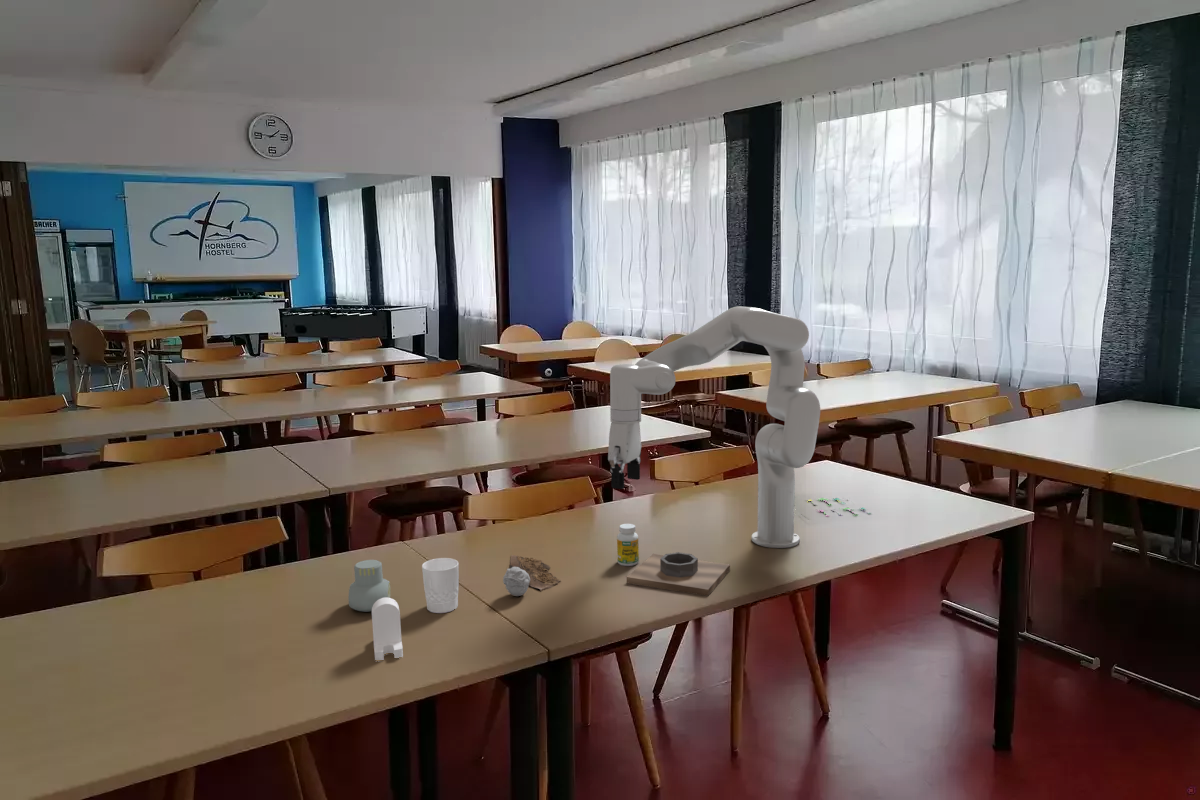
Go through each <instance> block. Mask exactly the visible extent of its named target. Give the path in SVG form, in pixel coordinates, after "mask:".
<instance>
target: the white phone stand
mask: <svg viewBox="0 0 1200 800" xmlns="http://www.w3.org/2000/svg"><path fill="white" fill-rule="evenodd" d="M371 621H372V639H373V649H374V652H373V653H374V661H375V660H384V661H385V655H384V654H386V653H393V654H394V655H393V654H392V655H393V657H394V658H399V657H402V658H404V651H403V642H402V627H401V624H402V623H401V612H400V607H399V603H398V602H397V600H395V599H394V598H391V597H390V598H388V597H384V598H381V599H379V600H377V601H376V602H375V603H374V605H373V607H372V611H371ZM386 655H387V654H386ZM399 659H400V658H399Z"/></svg>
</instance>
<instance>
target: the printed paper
mask: <svg viewBox="0 0 1200 800" xmlns="http://www.w3.org/2000/svg"><path fill="white" fill-rule="evenodd" d="M818 499H819V500H818V501H820V500H821V501H820V502H824V501H825V502H824V503H826V502H827V503H828V504H829V505H828V504H827V503H826V504H827V505H828V506H830V505H832V506H833V504H832V503H829V502H828V501H829V499H828V498H824V497H820V498H818ZM831 499H832V500H833V501H836V500H837V501H838V503H840V502H841V503H840V504H845V502H842V499H843V498H842V499H840V498H838V497H836V498H835V499H834V498H831ZM831 499H830V500H831ZM822 500H823V501H822ZM840 500H841V501H840ZM808 501H813V500H812V499H808ZM837 501H836V502H837ZM850 508H851V507H844V508H840V507H839V508H838V509H839V510H840V509H841V510H842V511H844V512H846V509H850ZM860 508H861V509H865V507H860ZM815 510H816V511H817V509H815ZM819 510H820V511H821V512H823V511H824V510H823V509H819ZM819 510H818V513H821V512H820V511H819ZM849 511H852V510H849ZM849 511H848V512H849ZM852 513H855V512H854V511H852ZM825 514H826V515H825ZM839 514H840V515H841V516H842V514H841V513H839ZM855 514H856V515H857V514H858V513H855ZM823 515H825V517H829V515H827V513H826V511H824V513H823ZM856 515H855V516H856ZM857 516H858V515H857Z"/></svg>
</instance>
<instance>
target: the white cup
mask: <svg viewBox="0 0 1200 800" xmlns="http://www.w3.org/2000/svg"><path fill="white" fill-rule="evenodd" d="M459 569H460V568H459V561H458V560H456V559H455V558H450V557H438V558H433V559H429V560H426V561H425V562H423V563H422V564H421V570H422V581H423V587H424V588H423V589H424V597H425V600H426V609H427V611H429V612H430V613H435V614H444V613H449V612H452V611H455V610H456V609H458V606H459V580H460V579H459V574H460V573H459ZM454 609H455V610H454Z"/></svg>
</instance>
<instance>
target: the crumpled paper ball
mask: <svg viewBox="0 0 1200 800" xmlns="http://www.w3.org/2000/svg"><path fill="white" fill-rule="evenodd" d="M502 578H503V579H502V582H503V585H505V589H506V590H507V592H508V593H509V594H510V595H511V596H515V597H519V596H523V595H525V594H526V592H527V591H528V589H529V586H530V585H529V582H530V577H529V575H528V573H527V572H526V571H524V570H522V569H520V568H519V567H512V568H511V569H510V568H506V571H505V574H504V575H503V577H502Z"/></svg>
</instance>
